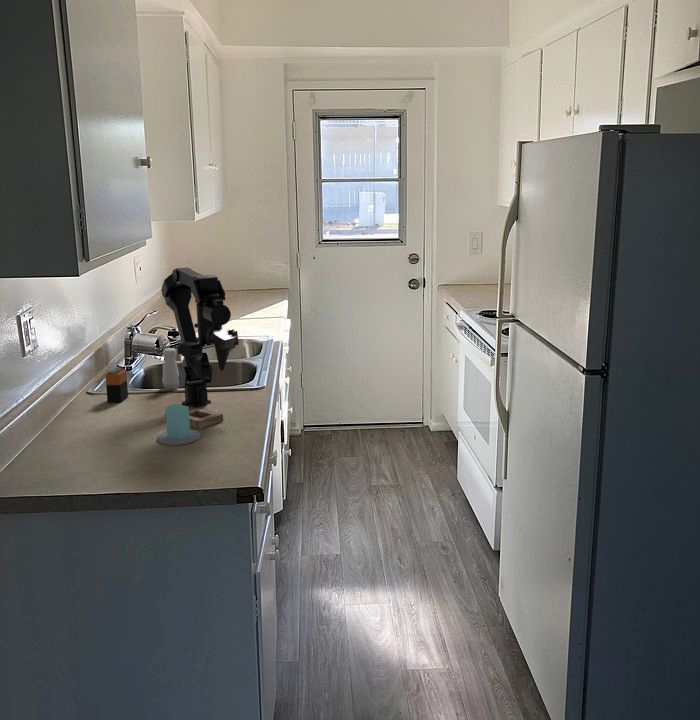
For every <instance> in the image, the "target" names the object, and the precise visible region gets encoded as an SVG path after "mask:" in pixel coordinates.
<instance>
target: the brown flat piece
mask: <svg viewBox="0 0 700 720" xmlns="http://www.w3.org/2000/svg"><path fill="white" fill-rule="evenodd" d="M189 421H190V427H192V426H193V427H192V428H196V427H198V428H197V429H200V428H201V429H203V427H204V428H207V427H210V426H212V425H215V424H217V423H221V422H223V421H224V414H223V413H220V412H217V411H212V410H208V409H203V408H199V407H197V408H193V409H189ZM220 421H221V422H220ZM209 425H210V426H209ZM206 426H207V427H206Z"/></svg>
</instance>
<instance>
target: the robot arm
mask: <svg viewBox="0 0 700 720" xmlns="http://www.w3.org/2000/svg"><path fill="white" fill-rule="evenodd" d="M161 295H162V297H163V298H164V301H165V304H166V305H167V306H168V308H169V309H170V310H172V312H173V314H174V318H175V322H176V325H177V326H176V327H177V329H178V334H179V337H180V342H181V343H179V344H178V345H177V354H178V355H181V357H183V358H182V361H181V369H180V371H179V377H178V378H179V385H181V386H183V387H184V398H185V400H184V401H181V405H185V406H190V407H197V408H198V407H199V406H203V405H205V404H209V403H212V400H210V399H209V398H208V396H209V395H208V388H207V384H211V383H212V377H213V376H212V375H213V367H212V365H211V363H210V360H209V355H208V353H207V352H203V350H205V349H210V348H214V349H215V354H216V359H217V365H218V368H219V370H220V371H221V372H222V371H224V370H225V367H226V364H227V361H228V357H229V355H230V352H232V350H233V349H235V348H236V346H238V345H239V343H240V342H239V335H238V330H237V329H235V328H230V329H228V330H227V329H226V330H224V329H223V326H225V325H226V324H228V323H229V322H230V319H231V314H232V312H231V310H230V308H229V307H228V306H227V305H225V304H224V301H226V291H225V290H224V287H223V285H222V282H221V279H220V278H219V277H218V276H217V275H216V274H202V273H199V272H198V271H195V270H193V269H192V268H191V267H190V268H189V267H177V268H174V269H173V270H172V272H171V274H169V276H167V277H166V278H165V279H164V280H163V283H162V285H161ZM192 295H193V297H194V302H195V303H196V304H195V305H196V306H195V307H196V322H197V323H194V322H193V319H192V318H193V317H192V315H191V311H190V302H191V299H192ZM196 328H197V333H196V331H195V329H196Z"/></svg>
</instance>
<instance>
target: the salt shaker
mask: <svg viewBox="0 0 700 720" xmlns="http://www.w3.org/2000/svg"><path fill="white" fill-rule="evenodd" d="M162 355H163V357H164V361H163V370H162V371H163V372H162V378H161V382H162V384H163V386H164V388H165V389H166V390H174V389H178V388H179V386H180V384H179V378H178V377H179V374H180V371H179V370H178V365H177V360H176V357H175V356H177V350H176V349H175V348H172V347H169V348H164V349H163V350H162Z"/></svg>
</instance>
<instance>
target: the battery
mask: <svg viewBox="0 0 700 720" xmlns="http://www.w3.org/2000/svg"><path fill="white" fill-rule="evenodd" d="M127 375H128V374H127V369H125V368H121V366H117V367H115V368H112V369H110V370H109V371H108V372H107V373H105V375H104V376H105V386H106V399H107V403H113V404H114V403H115V404H116V403H119V404H120V403H122V402H123V401H125V400H126V399H127V398H128V397H129V389H128V376H127Z"/></svg>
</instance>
